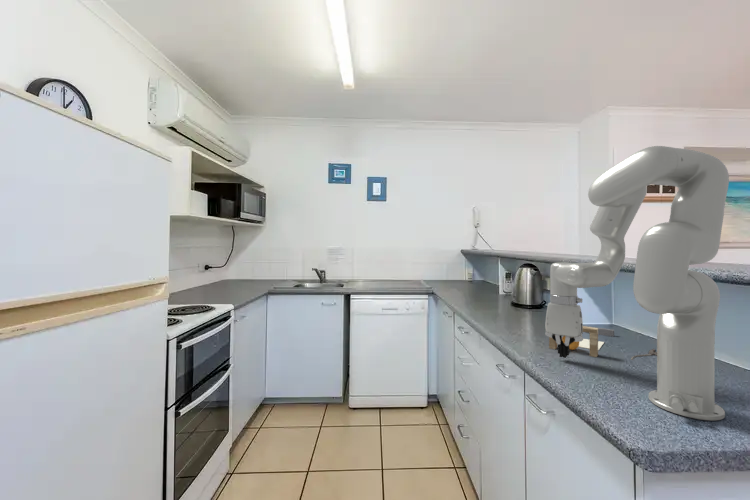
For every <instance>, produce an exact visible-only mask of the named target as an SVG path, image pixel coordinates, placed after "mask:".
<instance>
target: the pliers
mask: <svg viewBox="0 0 750 500" xmlns="http://www.w3.org/2000/svg"><path fill="white" fill-rule="evenodd" d="M655 349H656V348H652V349H650V350H649V351H648V352H647V353H646V354H645V353H644V354H636V355H633V356H631V357H630V360H631V361H634V359H635V358H639V357H640V358H641V357H651V356H656V357H657V351H656V350H655Z"/></svg>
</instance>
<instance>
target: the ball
mask: <svg viewBox="0 0 750 500" xmlns="http://www.w3.org/2000/svg"><path fill="white" fill-rule="evenodd" d="M565 338H566V336H562V341H563V343H565ZM578 346H579V342H573V343H571V344H570V345H569V351H573V350H576V349H578V348H579V347H578Z"/></svg>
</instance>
